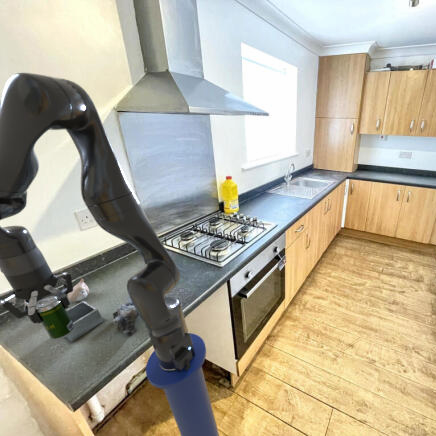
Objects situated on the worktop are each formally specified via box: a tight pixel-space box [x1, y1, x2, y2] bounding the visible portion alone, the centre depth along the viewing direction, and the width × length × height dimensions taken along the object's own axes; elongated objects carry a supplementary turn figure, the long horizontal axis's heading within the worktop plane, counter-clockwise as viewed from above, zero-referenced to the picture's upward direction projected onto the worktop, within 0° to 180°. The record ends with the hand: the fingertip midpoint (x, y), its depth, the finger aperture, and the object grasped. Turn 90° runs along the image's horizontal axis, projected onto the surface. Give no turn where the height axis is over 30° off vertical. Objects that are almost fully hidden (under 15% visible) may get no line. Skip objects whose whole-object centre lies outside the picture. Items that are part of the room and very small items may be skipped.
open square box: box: [65, 300, 104, 342], centre depth 80 cm, size 9×9×6 cm
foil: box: [111, 295, 138, 335], centre depth 83 cm, size 12×11×15 cm
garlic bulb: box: [67, 277, 90, 303], centre depth 92 cm, size 7×6×8 cm
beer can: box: [35, 295, 74, 340], centre depth 67 cm, size 5×5×12 cm
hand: (53, 314), depth 66 cm, fingers closed on beer can, 5 cm apart
